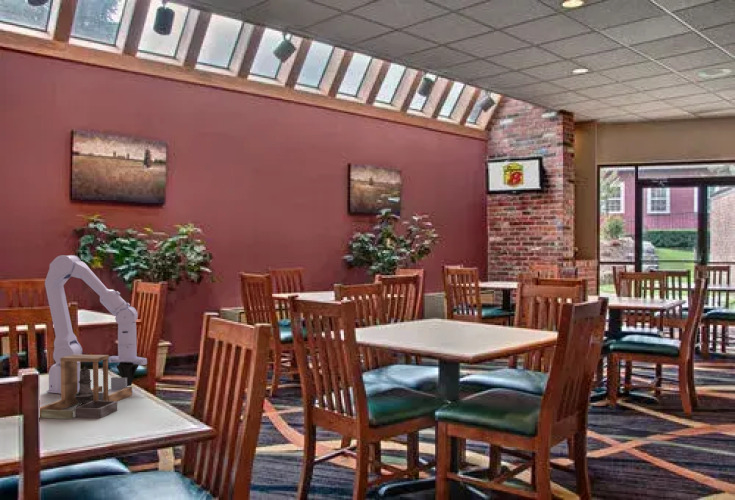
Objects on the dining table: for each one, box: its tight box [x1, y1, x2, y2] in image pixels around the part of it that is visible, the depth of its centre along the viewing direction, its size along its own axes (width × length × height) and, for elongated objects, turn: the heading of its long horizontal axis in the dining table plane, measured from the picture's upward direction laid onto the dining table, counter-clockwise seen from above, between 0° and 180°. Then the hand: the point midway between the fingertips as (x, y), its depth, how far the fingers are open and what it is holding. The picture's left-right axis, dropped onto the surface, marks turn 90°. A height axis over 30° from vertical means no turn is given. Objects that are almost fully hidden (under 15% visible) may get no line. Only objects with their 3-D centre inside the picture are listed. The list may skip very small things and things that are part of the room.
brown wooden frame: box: [39, 354, 133, 420], centre depth 192 cm, size 30×18×15 cm, turn 170°
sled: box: [99, 376, 128, 401], centre depth 203 cm, size 15×6×5 cm, turn 170°
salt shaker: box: [74, 365, 93, 408], centre depth 192 cm, size 6×6×12 cm
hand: (127, 385), depth 215 cm, fingers closed
